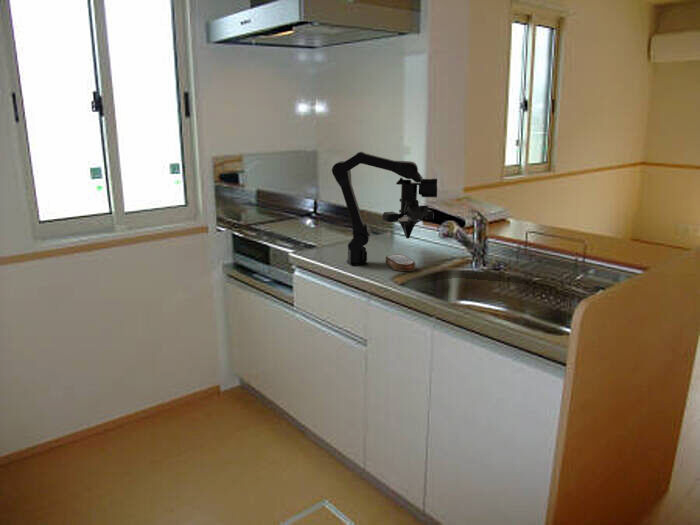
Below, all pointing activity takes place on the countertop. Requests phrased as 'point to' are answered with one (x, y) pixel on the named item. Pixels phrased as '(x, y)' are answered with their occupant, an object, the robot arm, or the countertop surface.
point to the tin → (400, 262)
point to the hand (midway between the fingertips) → (407, 238)
